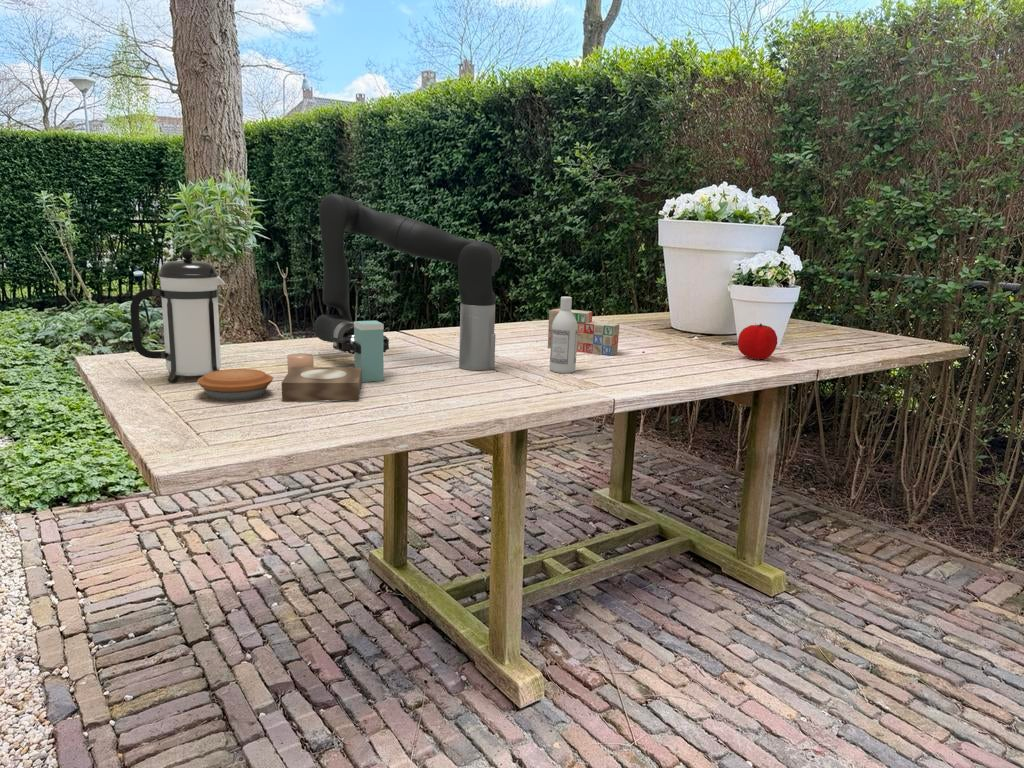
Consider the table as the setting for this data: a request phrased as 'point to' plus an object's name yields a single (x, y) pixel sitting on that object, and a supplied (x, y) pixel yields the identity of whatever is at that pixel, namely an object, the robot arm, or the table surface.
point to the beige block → (299, 360)
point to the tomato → (757, 341)
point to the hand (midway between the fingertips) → (372, 348)
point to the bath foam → (564, 339)
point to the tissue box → (322, 383)
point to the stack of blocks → (591, 333)
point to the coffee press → (185, 318)
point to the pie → (235, 384)
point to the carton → (369, 349)
